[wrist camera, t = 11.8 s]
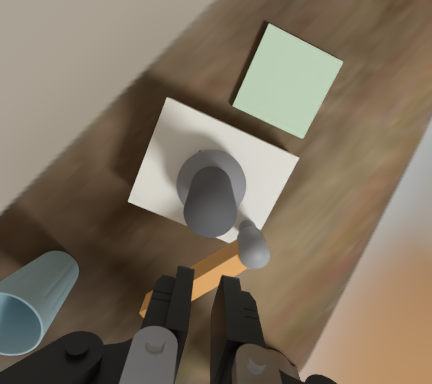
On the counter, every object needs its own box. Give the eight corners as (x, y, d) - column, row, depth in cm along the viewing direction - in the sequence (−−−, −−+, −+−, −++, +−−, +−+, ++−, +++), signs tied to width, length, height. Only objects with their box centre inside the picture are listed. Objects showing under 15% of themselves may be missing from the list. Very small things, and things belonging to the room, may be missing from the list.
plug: (250, 157, 34) (273, 190, 20) (226, 207, 36) (233, 268, 22) (196, 133, 33) (184, 150, 20) (174, 186, 35) (149, 235, 21)
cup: (41, 232, 36) (-24, 279, 26) (96, 258, 38) (54, 313, 28) (22, 276, 38) (-46, 336, 28) (74, 300, 39) (27, 365, 29)
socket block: (289, 152, 34) (306, 162, 27) (245, 236, 37) (252, 261, 31) (172, 98, 32) (162, 96, 26) (137, 191, 35) (120, 209, 29)
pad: (341, 62, 31) (343, 61, 30) (301, 138, 33) (302, 139, 33) (267, 25, 30) (269, 23, 29) (232, 106, 32) (232, 106, 32)
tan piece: (254, 221, 29) (260, 236, 25) (268, 241, 30) (275, 259, 26) (143, 289, 31) (135, 311, 28) (159, 306, 32) (152, 331, 28)
